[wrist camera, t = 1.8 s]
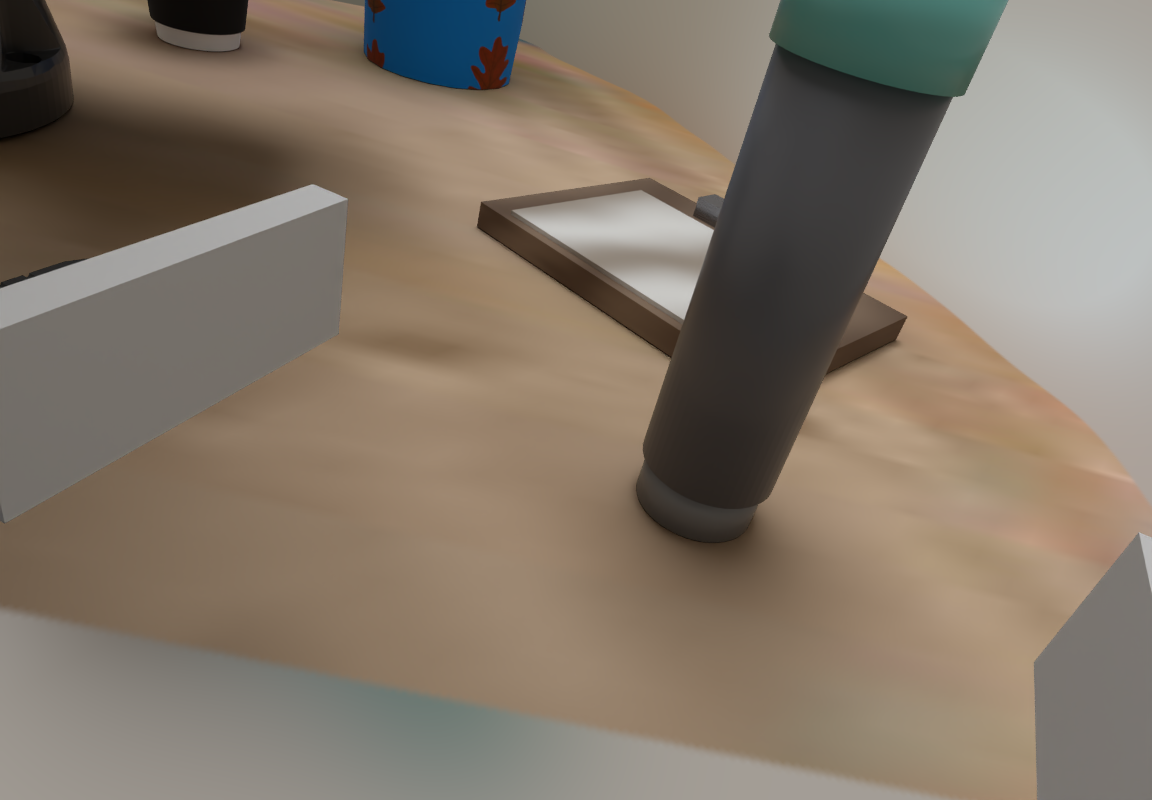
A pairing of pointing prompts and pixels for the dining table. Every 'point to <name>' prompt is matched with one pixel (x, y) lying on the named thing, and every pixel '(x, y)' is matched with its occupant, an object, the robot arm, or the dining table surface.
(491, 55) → the thermos
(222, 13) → the dixie cup
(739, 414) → the marker
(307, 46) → the dining table surface
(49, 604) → the dining table surface
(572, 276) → the brown picture frame
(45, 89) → the robot arm
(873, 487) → the dining table surface
